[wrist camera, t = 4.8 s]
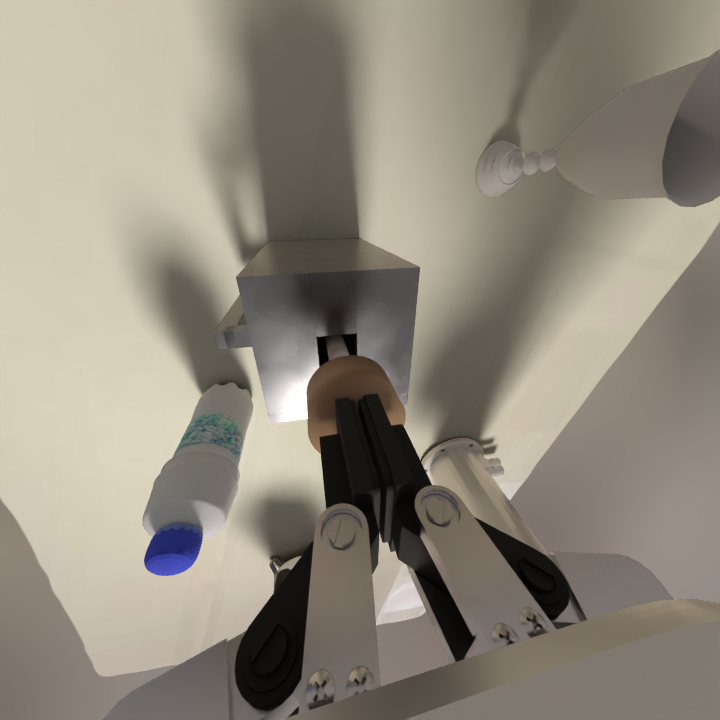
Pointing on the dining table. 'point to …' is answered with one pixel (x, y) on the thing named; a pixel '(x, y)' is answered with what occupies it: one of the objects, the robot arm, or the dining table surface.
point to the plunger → (346, 389)
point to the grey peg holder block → (321, 314)
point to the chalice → (633, 143)
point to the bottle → (197, 481)
